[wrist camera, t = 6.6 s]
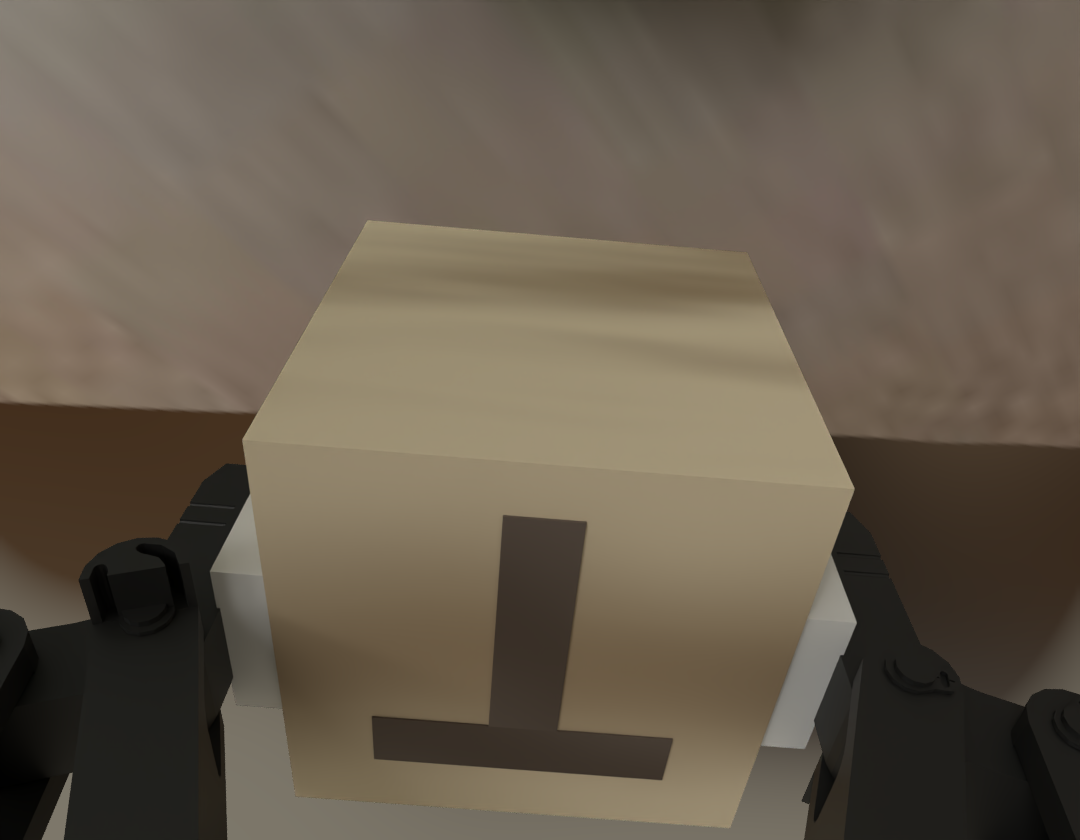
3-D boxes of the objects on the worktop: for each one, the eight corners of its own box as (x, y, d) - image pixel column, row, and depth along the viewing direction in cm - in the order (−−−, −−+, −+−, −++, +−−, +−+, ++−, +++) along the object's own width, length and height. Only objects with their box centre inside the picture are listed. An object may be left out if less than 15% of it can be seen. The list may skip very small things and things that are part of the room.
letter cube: (367, 220, 15) (241, 441, 9) (747, 252, 15) (854, 490, 10) (379, 513, 19) (295, 798, 13) (681, 537, 19) (730, 830, 13)
